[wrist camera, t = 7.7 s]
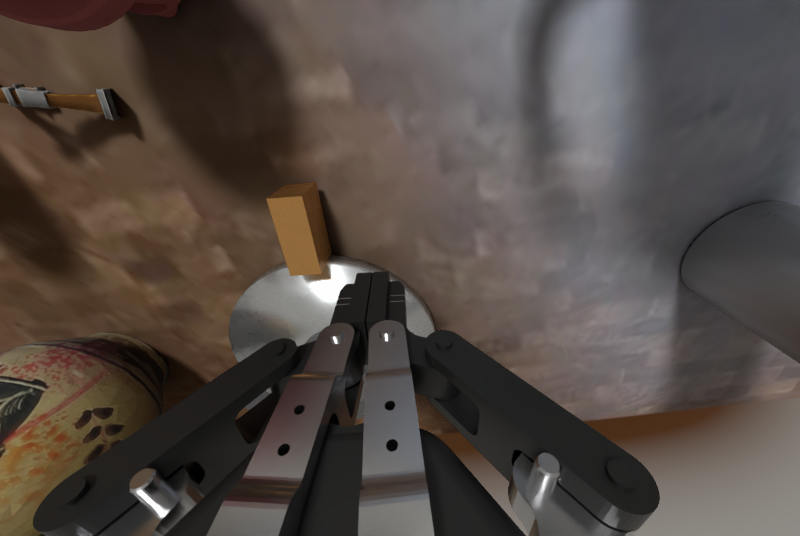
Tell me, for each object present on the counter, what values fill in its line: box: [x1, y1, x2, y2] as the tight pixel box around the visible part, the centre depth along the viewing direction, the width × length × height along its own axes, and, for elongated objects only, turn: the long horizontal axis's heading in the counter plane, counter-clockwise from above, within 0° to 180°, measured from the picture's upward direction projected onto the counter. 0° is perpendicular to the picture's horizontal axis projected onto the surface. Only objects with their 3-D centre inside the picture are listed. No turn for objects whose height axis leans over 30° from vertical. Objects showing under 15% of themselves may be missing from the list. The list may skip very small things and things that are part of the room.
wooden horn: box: [0, 84, 121, 121], centre depth 19 cm, size 2×8×4 cm, turn 84°
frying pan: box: [229, 182, 435, 394], centre depth 28 cm, size 22×22×4 cm
